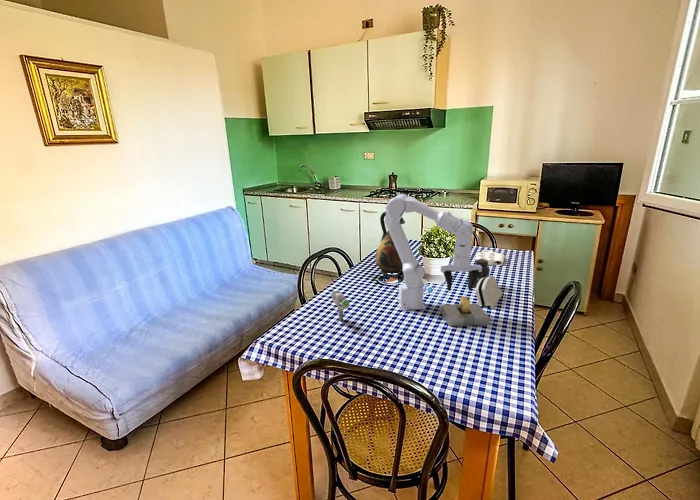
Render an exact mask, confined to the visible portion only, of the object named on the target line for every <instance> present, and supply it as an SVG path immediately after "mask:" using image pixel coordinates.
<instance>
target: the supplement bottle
mask: <svg viewBox="0 0 700 500" xmlns="http://www.w3.org/2000/svg"><path fill="white" fill-rule="evenodd" d="M475 265H480V266H481V267H482V272H479V277H478V278H477V279H476V281H475V283H474V285H473V287H474V288H475V289H476V286H477V284H478V282H479V280H480V279H482V278H484V277H489V276H490V275H491V274H490V273H491V268H490V267H489V266H488V261H487V260H485V259H478V260H476V263H475ZM473 287H472V288H473Z"/></svg>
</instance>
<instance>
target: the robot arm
mask: <svg viewBox="0 0 700 500" xmlns="http://www.w3.org/2000/svg"><path fill="white" fill-rule="evenodd" d="M385 210H386V211H385V212H386V216H385V217H384V222H385V227H386V229H387V232H388V231H389V233H390V235H391V238H392V240H393V243H394V245H395V247H396V250H397V252H398V254H399V257H400V259H401V262H402V264H403V269H402V273H403V282H404V283H402V284H399V286H398V301H397V302H398V304H399V307H400V309H401V310H402V311H403V310H404V311H405V310H408V311H409V310H425V309H426V305H425V304H424V289H425V288H424V287H425V285H424V284H425V283H424V281H423V278H424V277H425V274H426V271H425V270H426V269H425V268H424V267H423V266H422V265H421V264H420V262H419V260H417V258H416V257H415V255H414V253H413V251H412V248H411V245H410V244H409V241H408V238H407V236H406V233H405V231H404V228H403V226H402V224H400V219H401V217H402V218H403V215H404V213H406V214H407V213H408V214H409V213H413V212H415V213H417V214H419V215H422V216H423V217H426V218H427V219H430V220H432V221H434V222H435V225H436V226H437V227H439V228H441V229H443V230H444V231H447V232H448V233H450V234H452V235H454V236H455V242H454V251H453V264H448V265H441V266H440V273H442V274H443V275H444V279H445V282H446V287H447V291H448V292H451V291H452V282H453V277H454V275H453V273H455V272H456V273H459V272H462V273H468V280H467V281H468V283H467V289H468V290H469V291H472V290H473V285H474V283H475V281H476V279H477V278H478V277H479V272H482V267H481V266H480V265H476V264H471V256H472V255H471V254H472V245H473V244H472V242H473V238H472V237H473V234H474V225H473V224H472V223H471V222H470V221H469V220H464V218H462V217H461V218H459V217H457V216H454V215H452V212H450V211H441V212H439V211H437V210H435V209H434V208H432V207H430V206H428V205H426V204H425V203H423V202H421V201H419V200H418V199H416V198H415V197H413V196H410V195H407V194H406V193H399V194H397V195H395V196H394V197H392V198H390V200H389V201H388V203H387V205H386V206H385Z"/></svg>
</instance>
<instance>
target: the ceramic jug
mask: <svg viewBox="0 0 700 500" xmlns="http://www.w3.org/2000/svg"><path fill="white" fill-rule="evenodd" d="M379 217H380V219H379V222H380V226H381V230H382V236H381V239H380V242H379V244H378V246H377V248H376V250H375V257H374V258H375V264H376V266H377V267H378V268H379V269H380V273H382V274H383V275H384V274H387V273H391V274H393V273H398V274H399V275H400V274H401V271H403V264H402V262H401V259H400V257H399V254H398V252H397V250H396V247H395V245H394V243H393V240H392V238H391V235H390V233H389V231H388V230H387V226H386V223H385V217H386V211H384V212H382V213H381V214H380V216H379ZM405 223H406V221H405V220H404V218H403V216H402V217H401V219H400V224H401V225H405Z"/></svg>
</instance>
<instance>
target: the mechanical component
mask: <svg viewBox="0 0 700 500" xmlns="http://www.w3.org/2000/svg"><path fill="white" fill-rule="evenodd" d="M331 297H332V298H331V299H332V302H333V303H334V304H335V305H336V306H337V308H336V309H337V311H338V321H339V322H341V321H344V310H345V309H349V308H350V300H348V299H346V298H345V294H343V292H341V291H340V290H333V291H332V292H331Z"/></svg>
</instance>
